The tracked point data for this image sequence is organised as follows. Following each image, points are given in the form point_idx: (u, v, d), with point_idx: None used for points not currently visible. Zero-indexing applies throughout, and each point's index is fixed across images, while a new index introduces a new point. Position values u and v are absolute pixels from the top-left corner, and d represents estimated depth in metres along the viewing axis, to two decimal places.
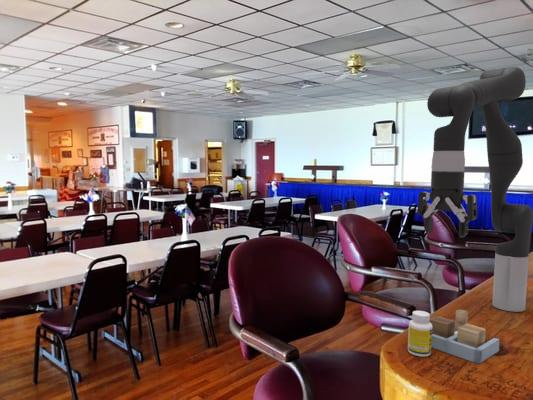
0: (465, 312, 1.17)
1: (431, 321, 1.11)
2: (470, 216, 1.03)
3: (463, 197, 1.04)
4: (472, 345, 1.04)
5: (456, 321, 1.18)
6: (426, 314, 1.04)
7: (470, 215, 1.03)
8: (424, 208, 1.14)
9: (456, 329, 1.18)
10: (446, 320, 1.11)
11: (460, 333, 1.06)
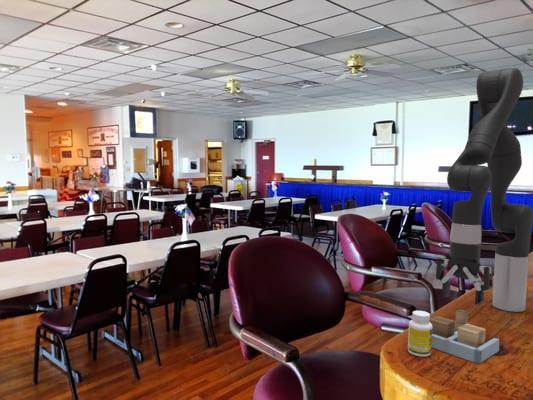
0: (465, 312, 1.17)
1: (431, 321, 1.11)
2: (486, 286, 1.11)
3: (480, 267, 1.13)
4: (472, 345, 1.04)
5: (456, 321, 1.18)
6: (426, 314, 1.04)
7: (486, 285, 1.11)
8: (442, 273, 1.22)
9: (456, 329, 1.18)
10: (446, 320, 1.11)
11: (460, 333, 1.06)
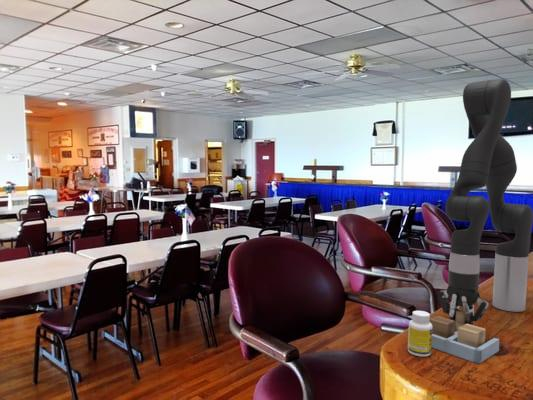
0: None
1: (431, 321, 1.11)
2: (475, 318, 1.14)
3: (478, 299, 1.14)
4: (472, 345, 1.04)
5: (456, 321, 1.18)
6: (426, 314, 1.04)
7: (475, 317, 1.14)
8: (448, 305, 1.22)
9: (456, 329, 1.18)
10: (446, 320, 1.11)
11: (460, 333, 1.06)
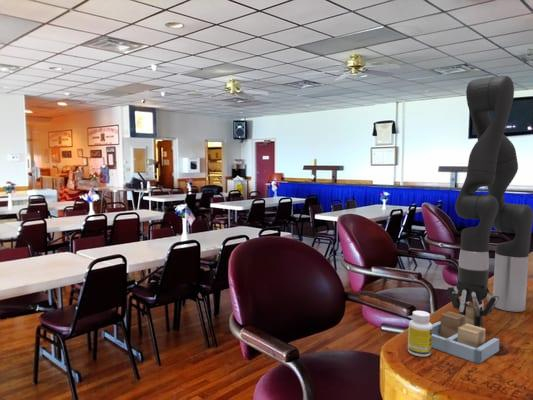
0: None
1: (442, 316, 1.15)
2: (484, 312, 1.18)
3: (487, 295, 1.18)
4: (472, 345, 1.04)
5: (466, 316, 1.21)
6: (426, 314, 1.04)
7: (484, 311, 1.18)
8: (458, 301, 1.25)
9: None
10: (457, 314, 1.15)
11: (460, 333, 1.06)
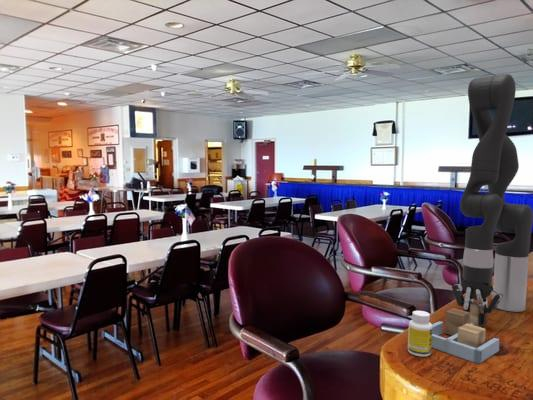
0: None
1: (447, 313, 1.17)
2: (489, 310, 1.19)
3: (491, 292, 1.19)
4: (472, 345, 1.04)
5: (470, 313, 1.23)
6: (426, 314, 1.04)
7: (489, 309, 1.19)
8: (462, 298, 1.27)
9: (470, 321, 1.23)
10: (461, 311, 1.17)
11: (460, 333, 1.06)
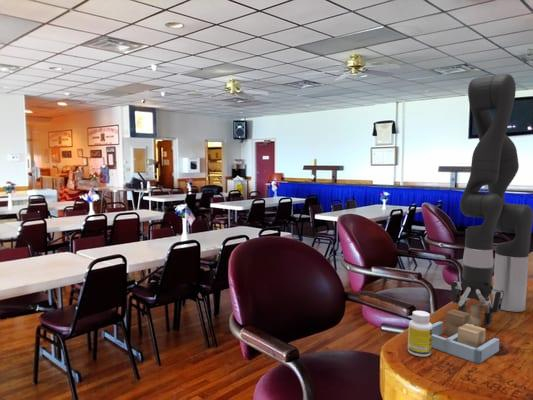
0: (479, 306, 1.22)
1: (447, 314, 1.17)
2: (494, 309, 1.18)
3: (492, 291, 1.19)
4: (472, 345, 1.04)
5: (470, 314, 1.23)
6: (426, 314, 1.04)
7: (494, 308, 1.18)
8: (457, 295, 1.28)
9: (470, 322, 1.23)
10: (462, 312, 1.17)
11: (460, 333, 1.06)
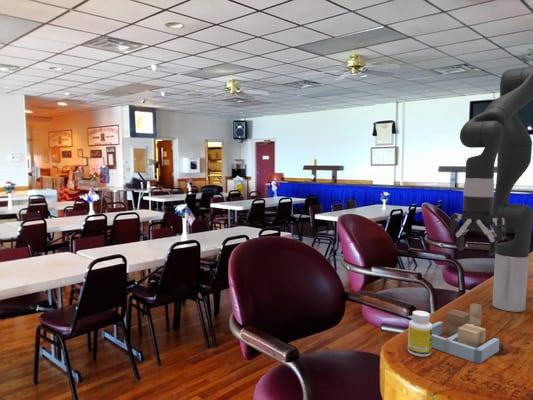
0: (479, 306, 1.22)
1: (447, 314, 1.17)
2: (499, 237, 1.16)
3: (493, 219, 1.17)
4: (472, 345, 1.04)
5: (470, 314, 1.23)
6: (426, 314, 1.04)
7: (499, 236, 1.16)
8: (456, 228, 1.27)
9: (470, 322, 1.23)
10: (462, 312, 1.17)
11: (460, 333, 1.06)
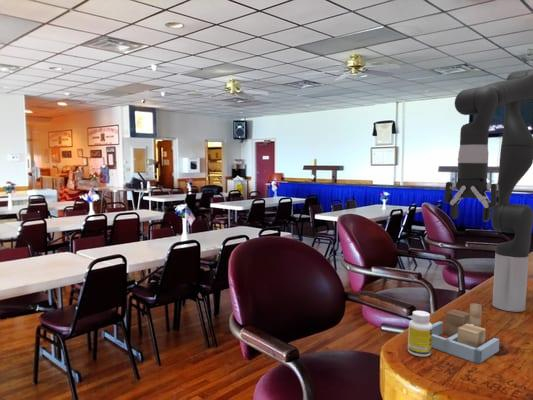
0: (479, 306, 1.22)
1: (447, 314, 1.17)
2: (493, 202, 1.16)
3: (487, 186, 1.18)
4: (472, 345, 1.04)
5: (470, 314, 1.23)
6: (426, 314, 1.04)
7: (493, 201, 1.16)
8: (450, 196, 1.27)
9: (470, 322, 1.23)
10: (462, 312, 1.17)
11: (460, 333, 1.06)
